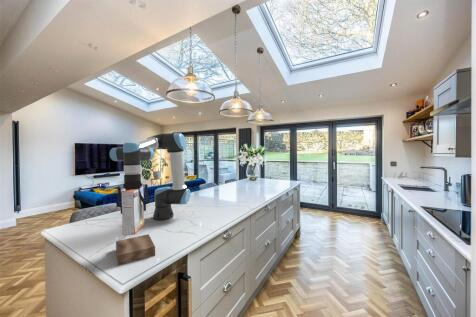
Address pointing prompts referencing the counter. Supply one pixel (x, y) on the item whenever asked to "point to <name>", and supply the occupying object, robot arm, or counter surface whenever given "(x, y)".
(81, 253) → the counter surface
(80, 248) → the counter surface
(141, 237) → the walnut plinth block
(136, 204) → the cracker box
